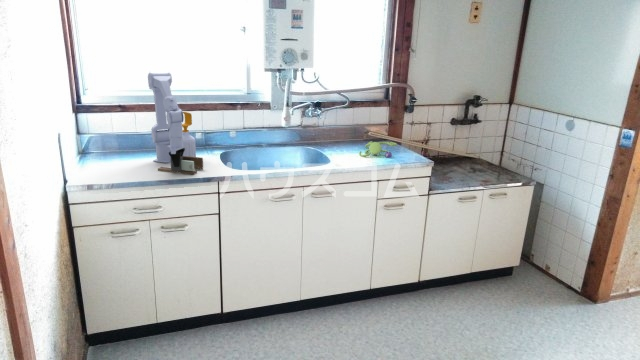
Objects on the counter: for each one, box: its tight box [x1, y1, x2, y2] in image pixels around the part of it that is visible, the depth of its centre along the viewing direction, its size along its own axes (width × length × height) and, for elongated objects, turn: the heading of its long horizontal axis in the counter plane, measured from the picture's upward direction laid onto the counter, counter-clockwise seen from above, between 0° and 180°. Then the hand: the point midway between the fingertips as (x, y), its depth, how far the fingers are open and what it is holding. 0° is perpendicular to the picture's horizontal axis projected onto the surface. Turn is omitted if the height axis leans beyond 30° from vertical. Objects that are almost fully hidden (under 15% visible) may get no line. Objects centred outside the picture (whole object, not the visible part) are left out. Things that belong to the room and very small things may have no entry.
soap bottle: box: [182, 111, 197, 157], centre depth 233 cm, size 9×9×25 cm
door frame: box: [157, 156, 204, 176], centre depth 217 cm, size 10×18×6 cm, turn 76°
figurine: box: [358, 140, 398, 159], centre depth 262 cm, size 18×27×6 cm
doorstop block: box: [170, 156, 183, 171], centre depth 213 cm, size 4×4×6 cm
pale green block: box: [181, 160, 195, 171], centre depth 212 cm, size 2×6×4 cm, turn 75°
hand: (177, 165), depth 213 cm, fingers closed on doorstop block, 4 cm apart
